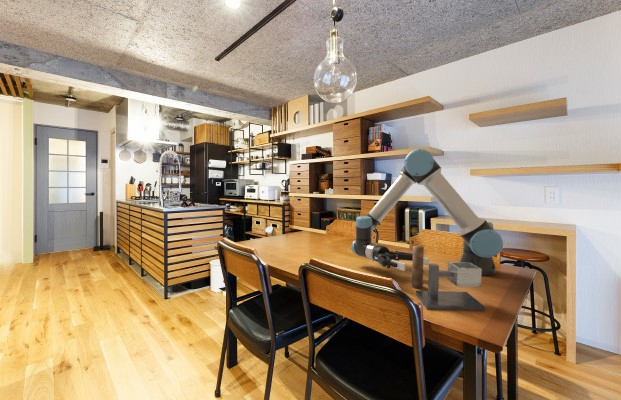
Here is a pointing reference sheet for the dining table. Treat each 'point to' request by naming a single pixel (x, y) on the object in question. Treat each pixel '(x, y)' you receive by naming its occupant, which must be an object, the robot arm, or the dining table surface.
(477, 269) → the cup bracket
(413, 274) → the walnut rail
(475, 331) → the dining table surface
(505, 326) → the dining table surface
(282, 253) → the dining table surface
